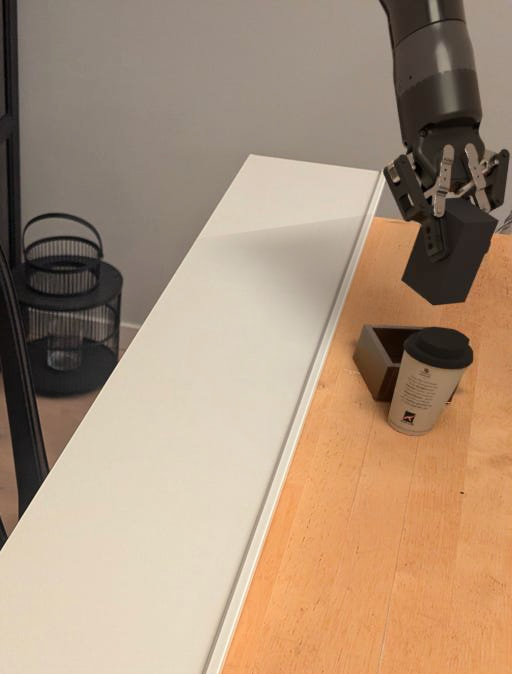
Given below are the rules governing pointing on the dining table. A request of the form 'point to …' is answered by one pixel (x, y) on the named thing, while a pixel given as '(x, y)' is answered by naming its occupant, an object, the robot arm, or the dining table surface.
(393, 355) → the open box
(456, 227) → the black rectangular block
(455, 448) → the dining table surface
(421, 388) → the coffee cup
